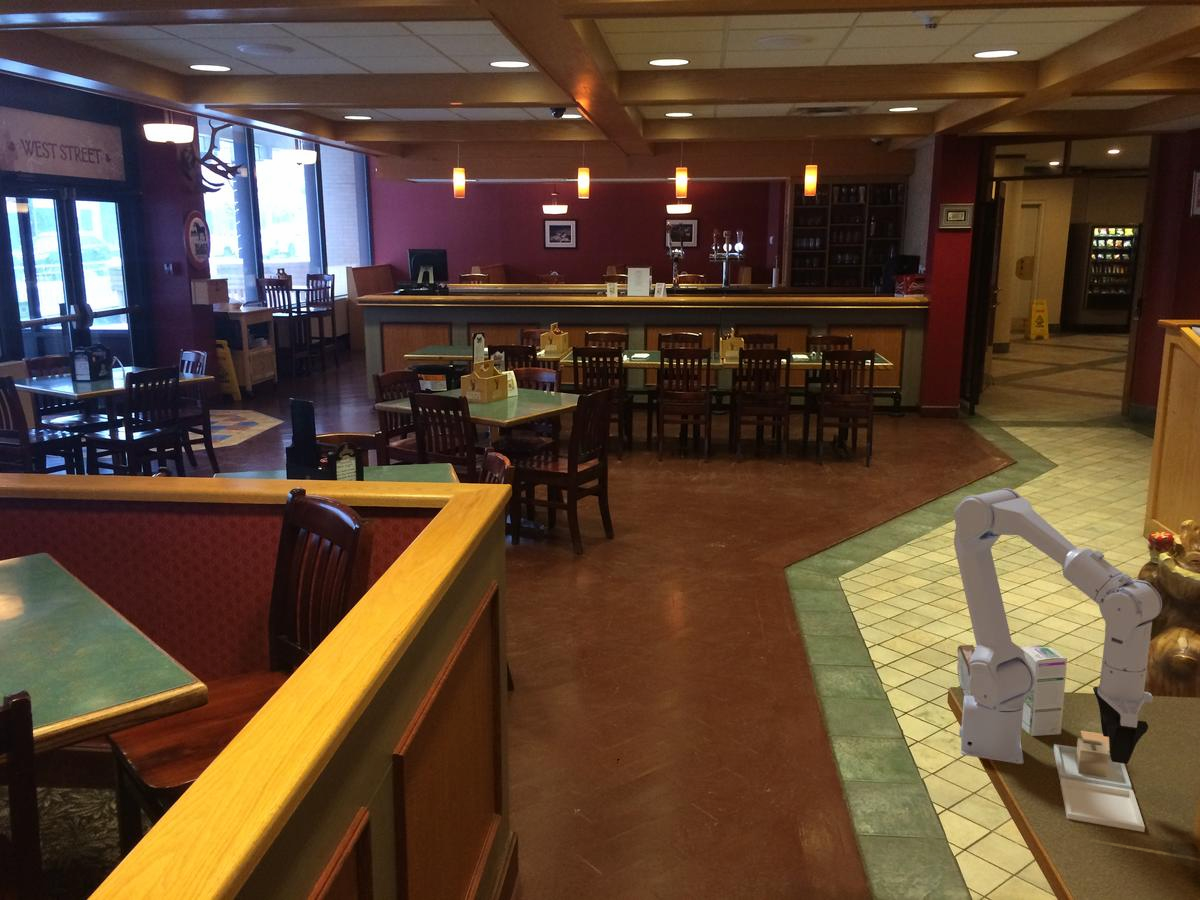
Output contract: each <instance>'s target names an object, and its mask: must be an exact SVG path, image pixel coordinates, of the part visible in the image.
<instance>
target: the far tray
mask: <svg viewBox="0 0 1200 900" xmlns="http://www.w3.org/2000/svg"><path fill="white" fill-rule="evenodd" d="M1076 750H1077V746H1070V745H1062V744H1056V743H1054V744H1053V754H1054V758H1055V763H1056V764H1055V765H1056V768H1057V774H1058V779H1059V780H1060V779H1061V778H1063V779H1069V780H1075V781H1082V782H1088V783H1094V784H1100V785H1106V786H1112V787H1118V788H1125V789H1131V790H1132V783H1131V781H1130V777H1129V774H1128V770H1127V768H1126V764H1124V763H1117V762H1112V760H1111V757H1110V751H1108V753H1109V759H1108V768H1107V777H1100V776H1094V775H1088V774H1082V773H1078V769H1077V765H1076V761H1075V760H1076Z"/></svg>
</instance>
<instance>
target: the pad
mask: <svg viewBox="0 0 1200 900" xmlns="http://www.w3.org/2000/svg"><path fill="white" fill-rule="evenodd" d="M1080 734H1081V737H1082V739H1087V740H1094V741H1101V742H1105V743H1106V746H1107V750H1108V752H1110V749H1109V737H1105V736H1103V733H1102V732H1100V733H1099V732H1094V731H1086V730H1080Z"/></svg>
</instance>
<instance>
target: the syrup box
mask: <svg viewBox="0 0 1200 900" xmlns="http://www.w3.org/2000/svg"><path fill="white" fill-rule="evenodd" d="M1019 647H1020V648H1021V649H1022V650H1023V651H1024V655H1025V658H1026V661H1027V662H1028V664H1029V665H1030V667H1031V668H1032V670H1033V673H1034V676H1035V684H1034V687H1033V689H1032V690H1031V691H1030V692H1028V693H1026V697H1025V701H1024V706H1023V717H1022V728H1021V729H1023V730H1024V732H1026V733H1027V734H1028V735H1030V737H1036V736H1050V735H1051V736H1052V735H1053V736H1054V735H1061V734H1062V725H1063V714H1064V712H1063V711H1064V702H1065V701H1064V700H1065V689H1066V688H1065V687H1066V679H1067V675H1066V674H1067V663H1068V658H1067V657H1066V656H1064V655H1063V654H1061V653H1060V652H1058V651H1057V650H1056V649H1055V648H1053V647H1052V646H1050V645H1042V644H1040V645H1036V644H1035V645H1026V646H1019Z"/></svg>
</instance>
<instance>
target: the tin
mask: <svg viewBox="0 0 1200 900" xmlns="http://www.w3.org/2000/svg"><path fill="white" fill-rule="evenodd" d="M975 649H976V647H975V646H974V644H962V645H961V644H960V645H958V647H957V676H958V682H959V686H960V689H961V691H962V694H963V697H964V696H973V695H972V694H971V692H970V689H969V683H968V681H969V676H970V668H969V663H968V662H969V660H970V658H971V656H972V654H973V653H974V651H975ZM962 689H965V690H962Z"/></svg>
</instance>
